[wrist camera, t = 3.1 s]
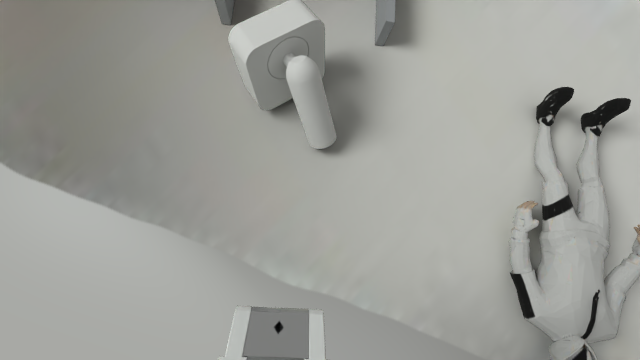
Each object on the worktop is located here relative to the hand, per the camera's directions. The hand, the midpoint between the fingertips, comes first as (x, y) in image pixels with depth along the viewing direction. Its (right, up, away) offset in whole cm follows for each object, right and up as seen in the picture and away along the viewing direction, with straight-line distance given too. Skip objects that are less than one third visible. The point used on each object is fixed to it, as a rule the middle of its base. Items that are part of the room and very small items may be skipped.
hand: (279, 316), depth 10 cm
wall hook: (-1, +13, +23) cm, 26 cm away
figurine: (+28, -1, +23) cm, 36 cm away
